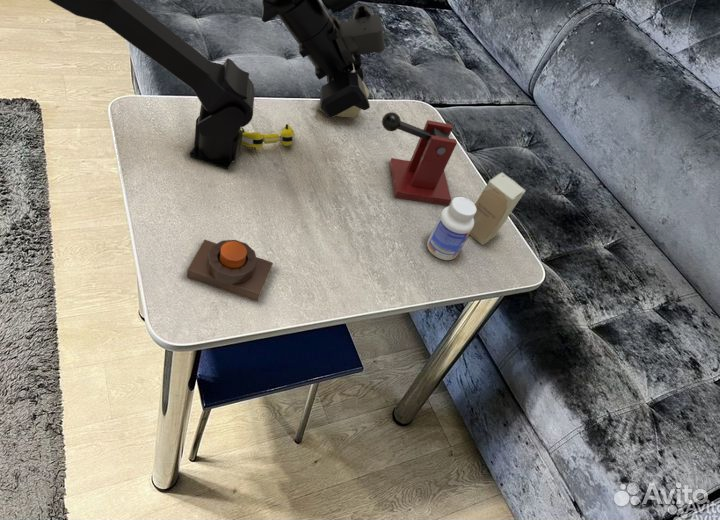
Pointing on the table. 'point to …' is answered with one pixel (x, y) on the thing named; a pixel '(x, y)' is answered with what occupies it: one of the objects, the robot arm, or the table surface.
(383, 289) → the table surface
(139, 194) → the table surface
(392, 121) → the black lever handle
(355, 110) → the bowl
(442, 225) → the pill bottle
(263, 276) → the button block
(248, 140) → the yellow striped curved toy
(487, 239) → the box
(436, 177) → the lever bracket
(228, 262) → the button
